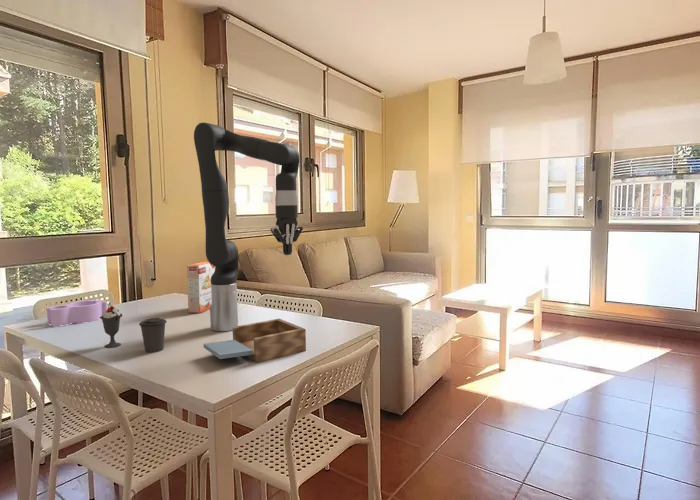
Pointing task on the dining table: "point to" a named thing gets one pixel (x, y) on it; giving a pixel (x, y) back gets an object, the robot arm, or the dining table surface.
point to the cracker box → (199, 286)
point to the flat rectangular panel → (228, 349)
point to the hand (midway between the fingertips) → (287, 254)
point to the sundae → (111, 325)
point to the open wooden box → (271, 339)
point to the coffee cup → (153, 334)
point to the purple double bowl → (76, 312)
